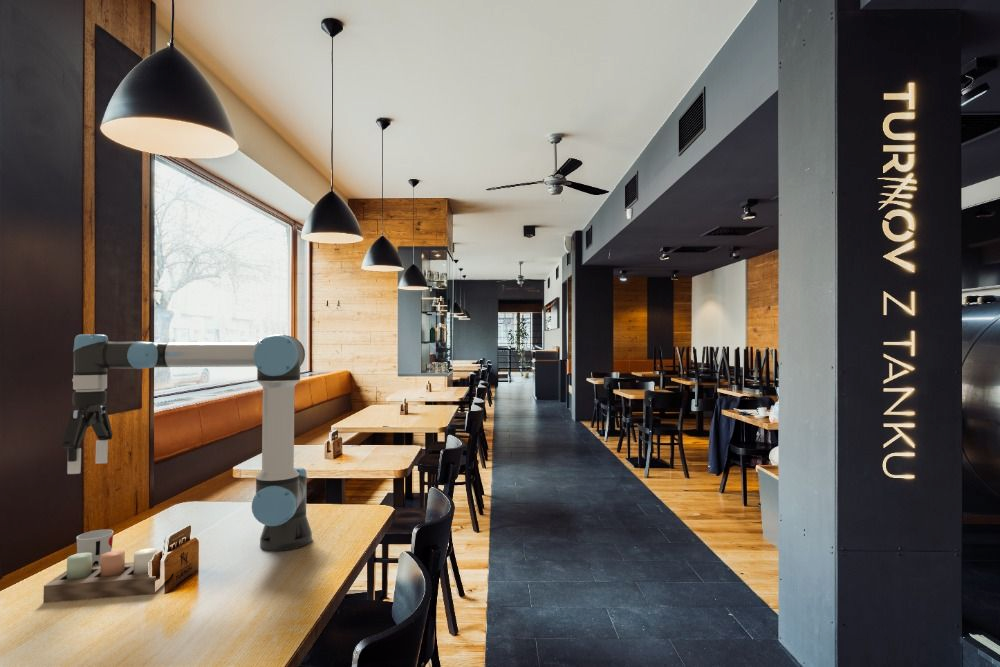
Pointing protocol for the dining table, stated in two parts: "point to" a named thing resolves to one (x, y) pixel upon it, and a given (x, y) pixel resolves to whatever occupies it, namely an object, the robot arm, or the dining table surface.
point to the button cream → (143, 560)
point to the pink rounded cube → (112, 563)
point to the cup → (95, 544)
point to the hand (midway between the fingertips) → (88, 468)
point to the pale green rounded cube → (79, 565)
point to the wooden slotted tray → (99, 586)
